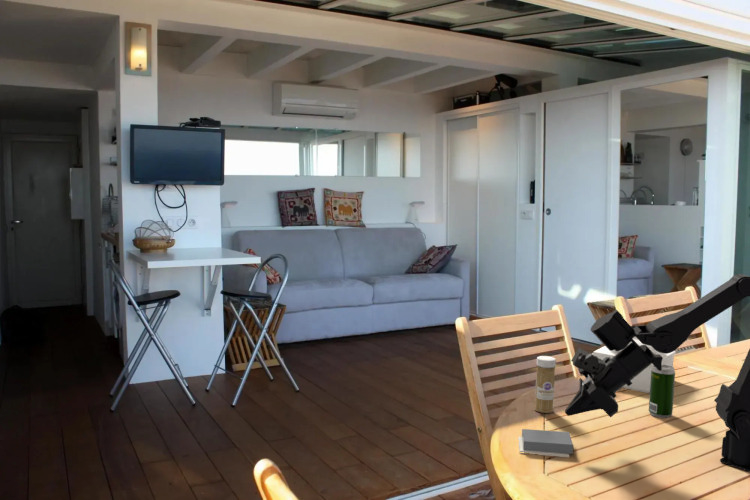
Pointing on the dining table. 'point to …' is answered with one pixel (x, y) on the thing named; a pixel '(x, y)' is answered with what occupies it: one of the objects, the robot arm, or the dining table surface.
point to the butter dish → (644, 377)
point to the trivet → (539, 452)
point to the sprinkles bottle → (545, 384)
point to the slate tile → (547, 441)
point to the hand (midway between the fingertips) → (566, 413)
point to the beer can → (662, 391)
